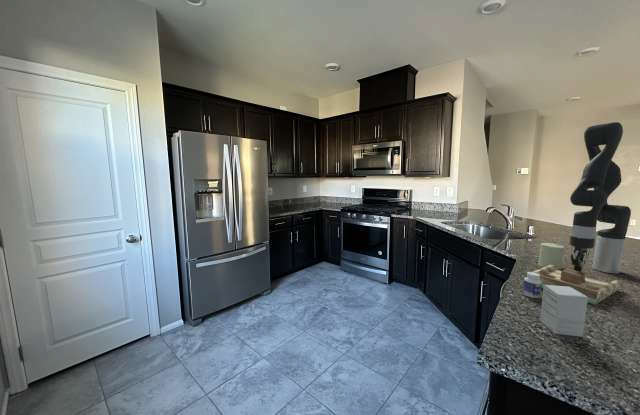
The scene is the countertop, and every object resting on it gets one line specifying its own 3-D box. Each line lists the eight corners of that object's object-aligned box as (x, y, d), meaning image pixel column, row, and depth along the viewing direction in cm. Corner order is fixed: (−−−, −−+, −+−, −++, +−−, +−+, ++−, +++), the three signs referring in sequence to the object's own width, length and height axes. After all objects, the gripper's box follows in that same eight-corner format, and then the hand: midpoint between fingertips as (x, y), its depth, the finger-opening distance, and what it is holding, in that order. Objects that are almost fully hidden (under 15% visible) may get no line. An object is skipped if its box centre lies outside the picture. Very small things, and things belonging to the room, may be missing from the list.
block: (566, 277, 114) (567, 268, 113) (584, 281, 108) (585, 273, 108) (560, 279, 111) (561, 270, 110) (579, 284, 106) (580, 275, 105)
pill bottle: (536, 299, 97) (539, 277, 96) (520, 294, 101) (522, 272, 100) (541, 296, 100) (544, 274, 99) (525, 291, 104) (528, 270, 103)
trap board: (550, 272, 125) (552, 262, 124) (617, 289, 105) (619, 278, 105) (525, 282, 112) (526, 271, 112) (595, 304, 93) (597, 291, 92)
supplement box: (565, 323, 81) (570, 286, 80) (583, 337, 74) (589, 297, 72) (538, 320, 83) (543, 283, 81) (553, 334, 76) (559, 294, 74)
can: (566, 270, 127) (569, 247, 126) (545, 268, 129) (548, 246, 128) (553, 264, 136) (556, 242, 135) (534, 262, 138) (536, 241, 137)
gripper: (576, 232, 116) (571, 268, 118) (564, 235, 110) (559, 273, 112) (600, 236, 109) (594, 274, 111) (589, 239, 103) (583, 280, 105)
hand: (577, 273), depth 112 cm, fingers closed
